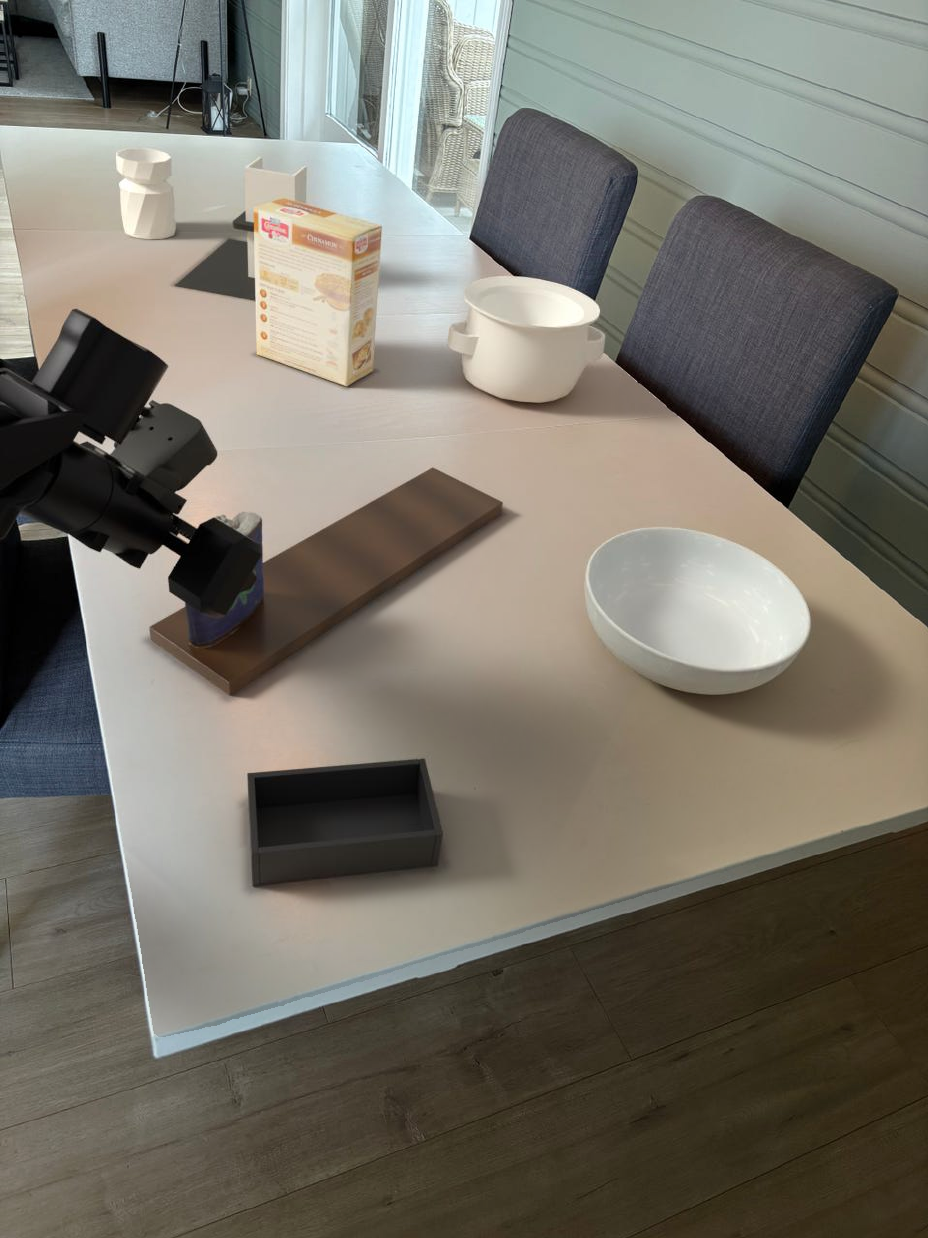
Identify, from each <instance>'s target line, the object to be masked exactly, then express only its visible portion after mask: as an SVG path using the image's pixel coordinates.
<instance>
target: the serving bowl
mask: <svg viewBox="0 0 928 1238" xmlns="http://www.w3.org/2000/svg"><path fill="white" fill-rule="evenodd" d="M584 602H585V608H586V612H587V615H588V618H589V621H590V623H591V626H592V627H593V629H594V631H595V633H596V634H597V636H598V638H599V639H600V641H601V642H602V643H603V644H604V646H605V647H606V648H607V649H608V650H609V651H610V653H612V654H613V655H614V656H615V658H617V659H618V660H619V661H620V662H621V663H623V665H625V666H627V667H628V668H629V669H631V670H632V671H634V672H635V673H637V674H639V675H640V676H642V677H643V678H646V679H648V680H650V681H652V682H654V683H656V684H659V685H662V686H664V687H667V688H670V689H673V690H676V691H677V690H678V691H681V692H685V693H690V694H692V693H693V694H699V695H729V694H730V695H731V694H736V693H741V692H746V691H749V690H752V689H755V688H757V687H759V686H762V685H764V684H766V683H768V682H770V681H771V680H773V679H775V678H776V677H778V676H779V675H781V674H782V673H783V672H784V671H785V670H786V669H788V667H789V666H791V664H792V663H793V662H794V660H796V659H797V657H798V655H799V654H800V653H801V651H802V650H803V649H804V647H805V646H806V643H807V642H808V640H809V637H810V634H811V629H812V617H811V612H810V609H809V606H808V602H807V600H806V599H805V597H804V595H803V594H802V592H801V591H800V589H799V587H798V586H797V585H796V584H795V582H793V581H792V579H791V578H790V577H789V576H788V575H787V574H786V573H785V572H784V571H783V570H782V569H780V568H779V567H778V566H776V565H775V564H774V563H772V562H771V561H770V560H768V559H767V558H765V557H764V556H763V555H760V554H758V553H757V552H755V551H753V550H752V549H750V548H748V547H746V546H744V545H742V544H739V543H738V542H734V541H732V540H729V539H727V538H724V537H721V536H719V535H716V534H711V533H708V532H703V531H700V530H695V529H689V528H682V527H673V526H671V527H669V526H652V527H642V528H636V529H631V530H628V531H624V532H622V533H619V534H617V535H614V536H612V537H611V538H608V539H607V540H605V541H604V542H603V543H601V544H600V545H599V546H598V547H597V548H596V549H595V550H594V552H593V553H592V554H591V556H590V558H589V559H588V562H587V564H586V567H585V573H584Z"/></svg>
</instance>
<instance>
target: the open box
mask: <svg viewBox="0 0 928 1238" xmlns="http://www.w3.org/2000/svg"><path fill="white" fill-rule="evenodd" d="M246 775H247V776H246V779H247V801H248V802H247V803H248V805H247V806H248V823H249V842H250V843H249V844H250V846H249V847H250V863H251V883H252V885H251V887H260V886H261V887H262V886H270V885H279V884H287V883H288V884H289V883H297V882H305V881H315V880H322V879H323V880H325V879H332V878H341V877H349V876H359V875H367V874H376V873H377V874H378V873H385V872H394V871H403V870H413V869H421V868H422V869H423V868H429V867H430V868H431V867H438V866H439V859H440V853H441V848H442V842H443V837H444V832H443V828H442V824H441V820H440V815H439V812H438V807H437V803H436V799H435V795H434V789H433V786H432V783H431V782H432V781H431V778H430V774H429V770H428V765H427V761H426V758H423V757H422V758H411V759H400V760H388V761H377V762H365V763H354V764H353V763H352V764H351V763H350V764H340V765H328V766H316V767H305V768H293V769H283V770H282V769H279V770H269V771H257V772H247V773H246Z"/></svg>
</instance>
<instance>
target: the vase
mask: <svg viewBox="0 0 928 1238" xmlns="http://www.w3.org/2000/svg"><path fill="white" fill-rule="evenodd" d="M115 164H116V171H117V172H118V173H119V174H120V175H121V176H122V177H124V178H123V179H121V181H120V182H118V187H119V192H120V193H119V200H120V214H121V220H122V227H123V230H124V233H125V234H126V235H128V236H130V237H133V238H137V239H143V240H164V239H167V238H171V237H173V236H174V235H175V234H176V229H177V225H176V218H175V193H174V192H175V191H174V186H173V185H172V184H171V183H170V182H169V181H168V179H169V178H170V177H171V176H173V175H172V173H173V172H172V171H173V169H172V167H173V165H172V157H171V155H169V153H167V152H164V151H162V150H159V149H153V148H144V147H143V148H142V147H131V148H130V147H129V148H124V149H119V150H116V153H115Z"/></svg>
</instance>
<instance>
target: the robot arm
mask: <svg viewBox="0 0 928 1238" xmlns="http://www.w3.org/2000/svg"><path fill="white" fill-rule="evenodd" d="M169 367H170V366H169V365H168V363H166V361H164V360H163V359H162V358H161V357H159V356H158V355H157V354H155V353H154V352H153V351H151V350H150V349H148V348H146V347H144V346H142V345H140V344H138V343H136V342H135V341H133V340H131V339H129V338H126V337H125V336H123V335H121V334H120V333H118V332H117V331H115V330H113V329H111V328H110V327H108V326H107V325H105V324H104V323H102V322H101V321H100V320H99V319H97V318H96V317H94V316H92V315H90V314H88V313H87V312H84V311H82V310H80V309H79V308H72V309H71V311H70V312H69V314H68V316H67V317H66V319H65V320H64V322H63V324H62V327H61V329H60V331H59V335H58V338H57V339H56V341H55V343H54V344H53V346H52V348H51V349H50V351H49V353H48V355H47V356H46V357H45V359H44V361H43V363H42V364H41V366H40V367H39V369H38V370H37V372H36V374H35V375H34V377H33V379H32V380H31V382H30V381H29V380H28V379H26V378H24V377H22V376H20V375H18V374H17V373H15V372H14V371H12V370H10V369H9V368H6V367H1V368H0V541H2V540H4V539H5V538H6V537H7V535H8V533H9V531H10V530H11V528H12V526H13V525H14V523H15V521H16V520H17V518H18V517H19V515H22V516H24V517H26V518H29V519H30V520H31V519H32V520H34V521H37V522H39V523H41V524H43V525H45V526H48V527H50V528H53V529H55V530H56V531H57V530H58V531H60V532H62V533H65V534H67V535H69V536H70V537H72V538H74V539H75V540H77V542H80V543H81V544H83V545H84V546H85V547H87V548H88V549H90V550H93V551H95V552H98V553H101V552H102V551H103V550H105V551H107V552H109V553H111V554H113V555H114V556H116V557H117V558H118V559H120V560H122V561H123V562H124V563H126V564H128V565H129V566H131V567H133V568H135V569H139V570H140V569H141V568H142V566H143V565H144V563H145V561H146V559H147V558H148V557H149V555H153V554H155V553H156V552H157V551H159V550H160V549H161V548H162V547H165V548H167V549H168V550H170V551H171V552H173V553H175V554H176V555H178V556H179V558H178V560H177V561H176V563H175V565H174V567H173V568H172V570H171V571H170V573H169V575H168V577H167V583H168V591H169V593H170V594H172V595H173V596H175V597H176V598H177V599H179V600H181V601H182V602H183V603H184V604H185V603H187V604H188V605H190V606H191V607H193V608H194V609H196V610H197V611H199V612H200V613H202V614H205V615H208V616H210V617H213V618H216V619H218V618H221V617H224V616H226V615H227V613H228V611H229V610H230V608H231V606H232V605H233V603H234V601H235V600H236V598H237V596H238V595H239V593H241V592H244V591H246V590H249V589H251V588H252V587H253V585H254V583H255V582H256V580H257V576H256V575H255V574H254V572H253V569H254V568H255V566H256V564H257V563H258V561H259V559H260V558H261V556H262V549H261V545H260V544H259V543H257V542H255V541H254V540H252V539H250V538H249V537H247V536H245V535H244V534H242V533H240V532H239V531H237V530H235V529H234V528H232V527H230V526H229V525H227V524H225V523H223V522H222V521H220V520H219V519H216V518H215V517H211V518H209V519H208V520H206V521H203V522H201V523H199V524H198V527H196V526H194V525H192V524H191V523H189V522H188V521H186V520H184V519H183V518H181V517H179V516H178V515H179V514H180V513H181V511H182V510H183V508H184V507H185V504H186V503H187V502H188V499H186V498H185V497H183V496H181V495H179V494H178V493H176V492H179V491H181V490H183V489H184V488H186V487H187V486H188V485H189V484H190V483H191V482H192V481H193V480H194V479H196V477H197V476H198V475H199V474H200V473H201V472H202V471H203V470H204V469H205V468H206V467H207V466H211V465H212V464H213V463H214V462H215V461H216V459H217V457H218V450H217V448H216V446H215V445H214V443H213V441H212V439H211V437H210V436H209V433H208V432H207V430H206V428H205V426H204V425H203V423H202V421H201V420H200V419H198V418H197V417H195V416H194V415H192V414H190V413H188V412H186V411H184V410H183V409H181V408H179V407H177V406H175V405H174V404H172V403H168V402H164V403H159V402H158V401H155V400H153V399H151V400H150V398H151V397H152V395H153V393H154V391H156V388H157V387H158V385H159V383H160V382H161V380H162V379H163V377H164V375H165V373H166V372H167V370H168V368H169ZM149 400H150V401H149ZM147 403H148V405H149V406H147ZM79 433H81V434H83V436H85V437H88V438H89V439H90V440H92V441H94V442H97V443H98V444H100V445H103V444H104V442H105V441H106V439H107V438H108V439H110V440H111V441H113V442H114V443H113V447H114V449H113V451H112V452H111V453H108V451H105V450H104V449H101V448H100V447H99V446H96V445H95V444H93V443H91V442H90V441H84V442H82V443H79V442H77V441H76V440H75V439H76V437H77V436H78V434H79ZM178 535H180V536H182V537H184V538H185V539H187V540H188V541H186V540H184V539H182V538H181V537H179V536H178Z"/></svg>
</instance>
